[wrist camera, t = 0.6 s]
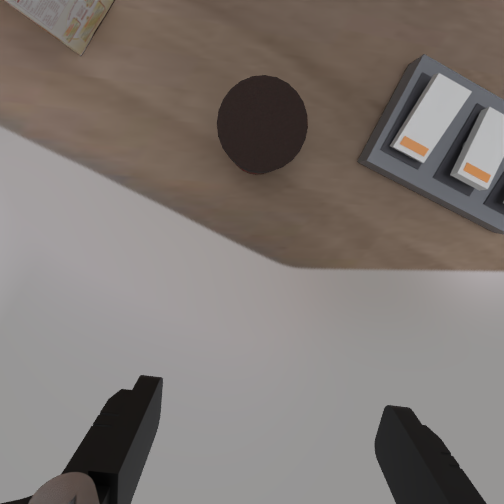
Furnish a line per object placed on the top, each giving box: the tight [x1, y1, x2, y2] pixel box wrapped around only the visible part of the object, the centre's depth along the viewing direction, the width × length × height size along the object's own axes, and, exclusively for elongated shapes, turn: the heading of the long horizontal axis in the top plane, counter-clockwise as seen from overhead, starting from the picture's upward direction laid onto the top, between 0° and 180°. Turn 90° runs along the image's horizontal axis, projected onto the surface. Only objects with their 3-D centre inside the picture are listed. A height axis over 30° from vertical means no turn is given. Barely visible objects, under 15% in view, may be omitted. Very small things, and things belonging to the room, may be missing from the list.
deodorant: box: [217, 75, 308, 175], centre depth 27 cm, size 6×6×15 cm
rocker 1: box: [390, 73, 472, 163], centre depth 30 cm, size 7×4×2 cm, turn 155°
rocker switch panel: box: [357, 54, 504, 234], centre depth 33 cm, size 11×19×3 cm, turn 65°
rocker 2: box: [450, 107, 504, 191], centre depth 31 cm, size 7×4×2 cm, turn 155°
